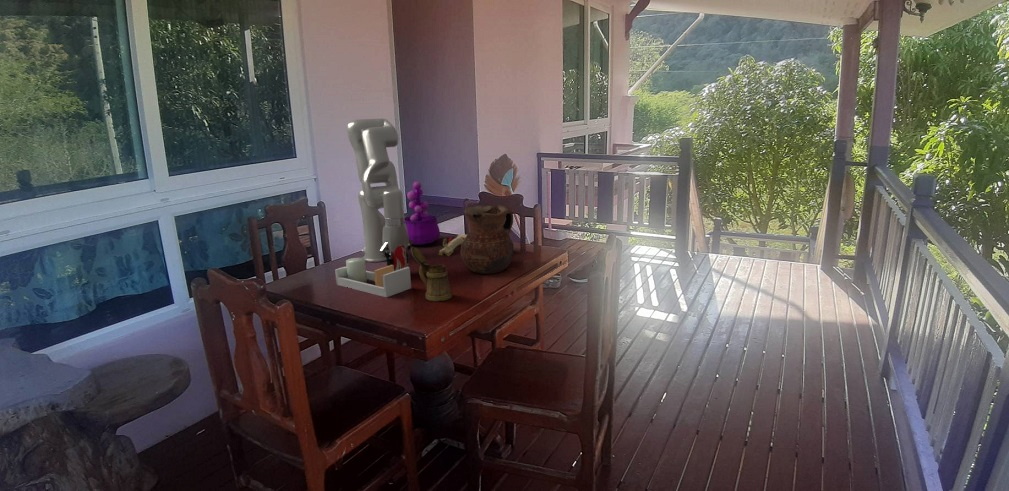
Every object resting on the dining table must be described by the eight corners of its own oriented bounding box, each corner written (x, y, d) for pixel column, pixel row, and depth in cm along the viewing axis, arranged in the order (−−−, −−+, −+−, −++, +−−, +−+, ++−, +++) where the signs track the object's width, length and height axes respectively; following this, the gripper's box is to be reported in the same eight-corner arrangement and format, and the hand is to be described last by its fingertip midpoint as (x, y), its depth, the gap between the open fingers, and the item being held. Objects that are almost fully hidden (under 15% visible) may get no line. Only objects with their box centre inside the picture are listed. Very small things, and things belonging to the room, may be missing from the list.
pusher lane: (336, 284, 223) (334, 264, 221) (361, 276, 232) (359, 257, 230) (386, 297, 207) (384, 275, 205) (411, 288, 216) (409, 267, 214)
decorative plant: (423, 249, 271) (418, 185, 264) (393, 245, 281) (388, 183, 274) (448, 241, 286) (444, 179, 279) (419, 237, 296) (415, 178, 289)
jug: (495, 280, 222) (492, 215, 216) (450, 273, 233) (447, 211, 227) (524, 265, 240) (522, 204, 234) (482, 259, 251) (479, 201, 245)
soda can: (403, 276, 229) (401, 246, 225) (386, 275, 230) (384, 245, 227) (410, 270, 235) (408, 241, 232) (393, 270, 237) (391, 241, 233)
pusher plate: (376, 291, 212) (374, 270, 210) (393, 285, 219) (391, 264, 217) (377, 292, 212) (375, 270, 210) (395, 285, 218) (393, 265, 216)
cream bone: (455, 259, 258) (476, 241, 281) (453, 240, 256) (474, 224, 278) (434, 258, 262) (457, 240, 284) (432, 239, 259) (455, 223, 281)
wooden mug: (420, 292, 211) (416, 243, 207) (455, 294, 207) (452, 244, 203) (409, 300, 203) (405, 249, 198) (446, 302, 199) (443, 251, 195)
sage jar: (344, 283, 224) (342, 261, 222) (359, 279, 230) (356, 256, 227) (356, 286, 220) (353, 263, 218) (370, 281, 225) (368, 259, 223)
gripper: (404, 216, 236) (407, 258, 241) (370, 224, 223) (374, 269, 227) (417, 218, 232) (420, 261, 236) (384, 227, 218) (387, 272, 223)
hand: (398, 265), depth 232 cm, fingers closed on soda can, 7 cm apart
